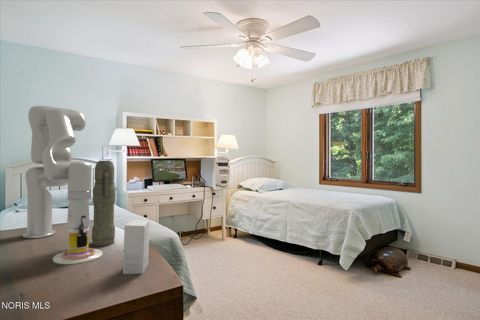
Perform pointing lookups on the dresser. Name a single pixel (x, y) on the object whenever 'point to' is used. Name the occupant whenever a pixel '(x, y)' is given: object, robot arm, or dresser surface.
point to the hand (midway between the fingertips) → (78, 244)
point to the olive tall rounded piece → (103, 204)
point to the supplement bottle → (72, 243)
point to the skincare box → (136, 247)
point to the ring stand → (77, 257)
